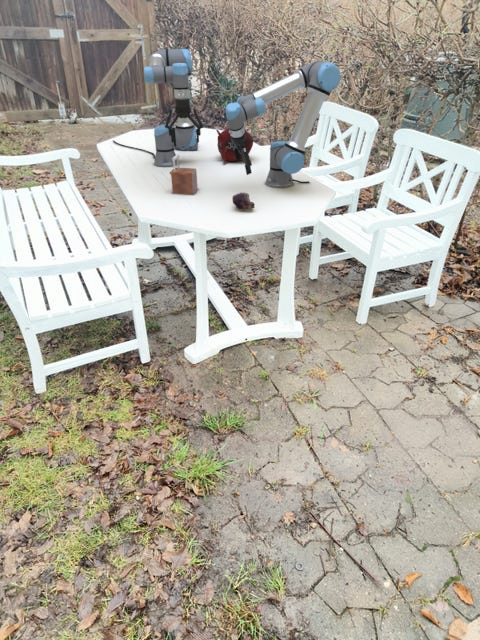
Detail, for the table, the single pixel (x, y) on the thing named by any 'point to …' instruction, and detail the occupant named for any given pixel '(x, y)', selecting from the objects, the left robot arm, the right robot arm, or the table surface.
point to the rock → (242, 201)
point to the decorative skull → (226, 145)
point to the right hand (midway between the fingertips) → (243, 166)
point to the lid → (181, 170)
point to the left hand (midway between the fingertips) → (185, 142)
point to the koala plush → (188, 147)
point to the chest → (184, 183)
